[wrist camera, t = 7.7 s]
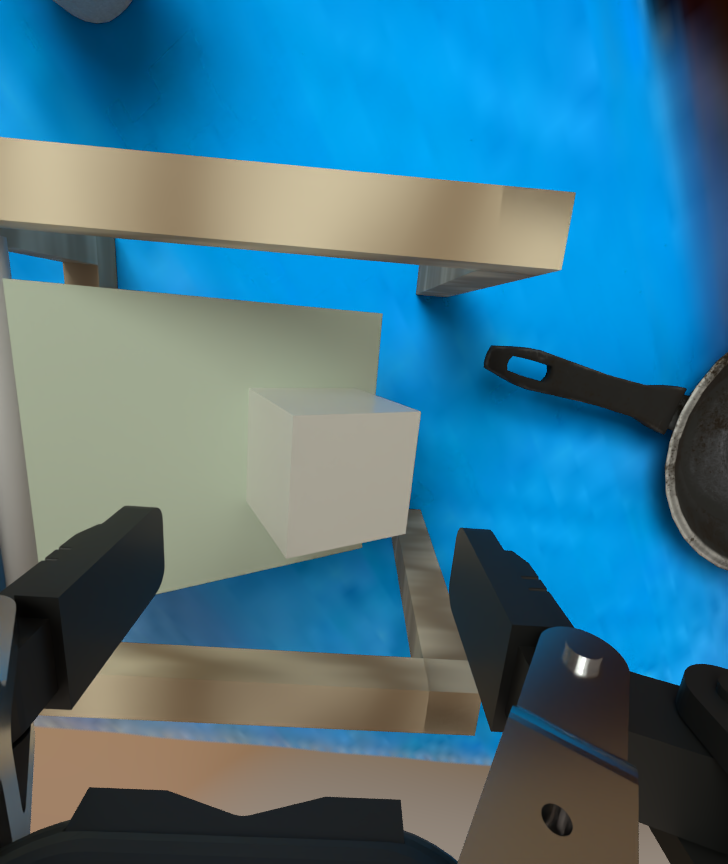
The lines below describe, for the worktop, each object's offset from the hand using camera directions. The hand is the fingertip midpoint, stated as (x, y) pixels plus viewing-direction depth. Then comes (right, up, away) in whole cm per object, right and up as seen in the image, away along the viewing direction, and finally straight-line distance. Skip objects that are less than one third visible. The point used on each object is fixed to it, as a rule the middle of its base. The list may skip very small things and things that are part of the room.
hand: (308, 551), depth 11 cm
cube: (-1, +2, +9) cm, 9 cm away
